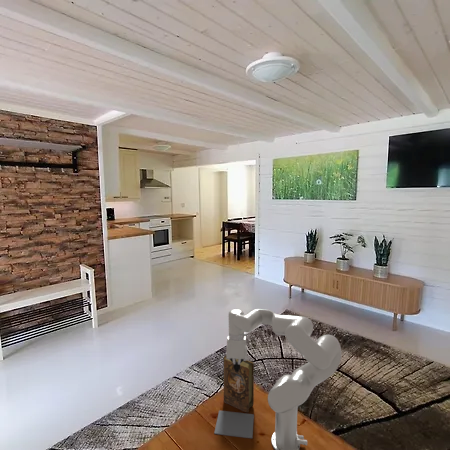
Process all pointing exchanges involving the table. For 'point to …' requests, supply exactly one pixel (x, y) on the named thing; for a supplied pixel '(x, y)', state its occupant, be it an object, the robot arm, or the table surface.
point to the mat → (234, 424)
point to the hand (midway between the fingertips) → (237, 370)
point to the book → (239, 384)
